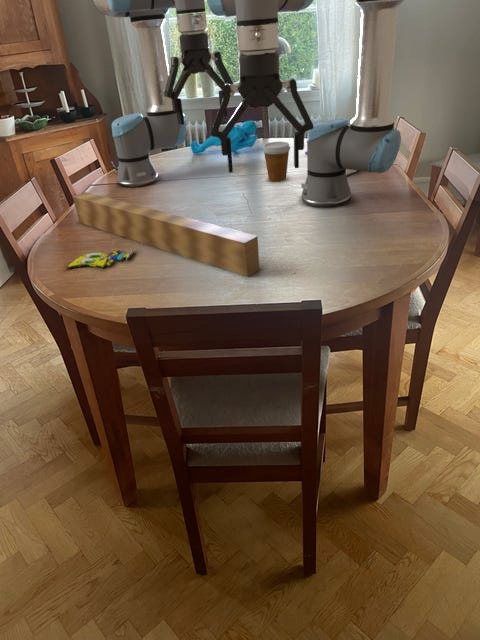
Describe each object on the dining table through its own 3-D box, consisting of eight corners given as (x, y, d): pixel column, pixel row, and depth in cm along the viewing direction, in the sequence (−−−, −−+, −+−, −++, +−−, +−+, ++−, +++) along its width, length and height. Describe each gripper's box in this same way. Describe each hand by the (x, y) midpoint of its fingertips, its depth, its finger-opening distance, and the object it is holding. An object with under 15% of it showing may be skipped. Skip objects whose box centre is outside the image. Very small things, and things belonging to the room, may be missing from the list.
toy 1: (121, 265, 120) (65, 266, 122) (122, 268, 120) (66, 269, 122) (134, 248, 128) (81, 249, 130) (135, 251, 129) (82, 251, 131)
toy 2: (195, 134, 218) (257, 114, 208) (203, 157, 223) (264, 139, 213) (184, 143, 204) (250, 123, 194) (193, 168, 209) (257, 149, 199)
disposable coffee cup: (260, 182, 170) (258, 147, 164) (269, 174, 177) (267, 141, 171) (286, 183, 167) (285, 148, 160) (294, 175, 174) (293, 141, 168)
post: (79, 222, 151) (72, 196, 146) (91, 218, 154) (85, 191, 149) (247, 276, 112) (244, 243, 107) (259, 269, 115) (257, 235, 110)
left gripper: (153, 38, 117) (167, 129, 129) (242, 28, 126) (247, 114, 138) (143, 37, 123) (157, 125, 134) (228, 28, 132) (234, 111, 144)
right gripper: (189, 59, 86) (202, 177, 97) (329, 47, 85) (326, 169, 96) (193, 56, 92) (205, 167, 103) (323, 45, 91) (321, 159, 102)
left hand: (202, 120), depth 136 cm, fingers open, 13 cm apart
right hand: (263, 168), depth 100 cm, fingers open, 13 cm apart
